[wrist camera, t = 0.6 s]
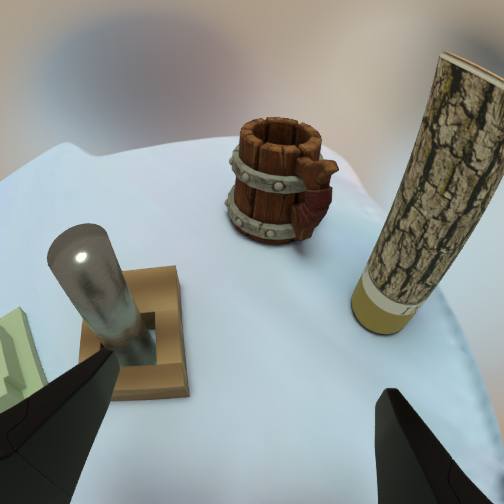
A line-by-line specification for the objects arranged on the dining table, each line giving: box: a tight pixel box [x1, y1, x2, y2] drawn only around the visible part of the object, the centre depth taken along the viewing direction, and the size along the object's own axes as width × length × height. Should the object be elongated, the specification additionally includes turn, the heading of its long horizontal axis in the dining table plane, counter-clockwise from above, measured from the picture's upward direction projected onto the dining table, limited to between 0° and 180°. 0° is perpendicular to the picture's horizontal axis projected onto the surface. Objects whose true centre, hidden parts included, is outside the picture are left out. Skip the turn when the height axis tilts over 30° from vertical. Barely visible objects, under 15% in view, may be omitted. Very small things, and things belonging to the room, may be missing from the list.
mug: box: [225, 117, 339, 244], centre depth 34 cm, size 12×14×15 cm
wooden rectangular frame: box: [79, 265, 190, 401], centre depth 25 cm, size 12×9×3 cm
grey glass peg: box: [47, 223, 157, 367], centre depth 20 cm, size 4×4×14 cm
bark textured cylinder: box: [352, 50, 504, 334], centre depth 21 cm, size 7×7×25 cm
